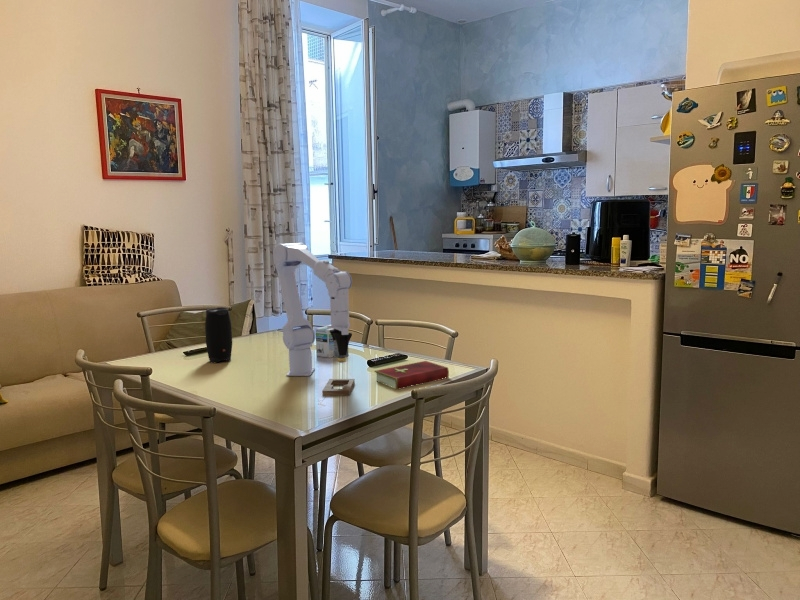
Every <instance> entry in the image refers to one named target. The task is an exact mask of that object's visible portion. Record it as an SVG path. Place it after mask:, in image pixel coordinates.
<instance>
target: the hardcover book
mask: <svg viewBox="0 0 800 600" xmlns="http://www.w3.org/2000/svg"><path fill="white" fill-rule="evenodd" d="M449 370H450V369H449V367H447V366H444V365H441V364H439V363H435V362H431V361H428V360H423V361H417V362H413V363H408V364H407V363H406V364H403V365H397V366H392V367H391V366H390V367H386V368H381V369H377V370H374V373H375V375H376V377H375V379H376V382H377V381H378V382H377V383H379V382H381V383H380V384H382V383H384V384H383V385H385V384H387V385H389V386H388V387H390V386H392V387H391V388H393V387H394V388H393V389H395V390H400V389H399V388H401V389H404V388H403V387H405V388H408V387H407V386H410V387H412V386H411V385H414V386H417V385H416V384H419V385H423V384H427V383H432V382H436V381H435V380H437V381H439V380H438V379H441V380H443V379H442V378H445V377H448V378H449V375H450V373H449V372H450V371H449ZM422 383H423V384H422ZM387 385H386V386H387Z"/></svg>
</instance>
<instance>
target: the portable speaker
mask: <svg viewBox="0 0 800 600" xmlns="http://www.w3.org/2000/svg"><path fill="white" fill-rule="evenodd" d="M204 325H205V326H204V329H205V344H206V350H207V357H208V360H209V362H210V363H211V362H220V361H226V362H230V361H232V359H231V358H232V352H233V329H232V328H233V327H232V320H231V315H230V312H229V309H228V307H225V306H224V307H223V306H221V307H220V306H219V307H217V308H206V311H205V322H204ZM229 360H230V361H229Z"/></svg>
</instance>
